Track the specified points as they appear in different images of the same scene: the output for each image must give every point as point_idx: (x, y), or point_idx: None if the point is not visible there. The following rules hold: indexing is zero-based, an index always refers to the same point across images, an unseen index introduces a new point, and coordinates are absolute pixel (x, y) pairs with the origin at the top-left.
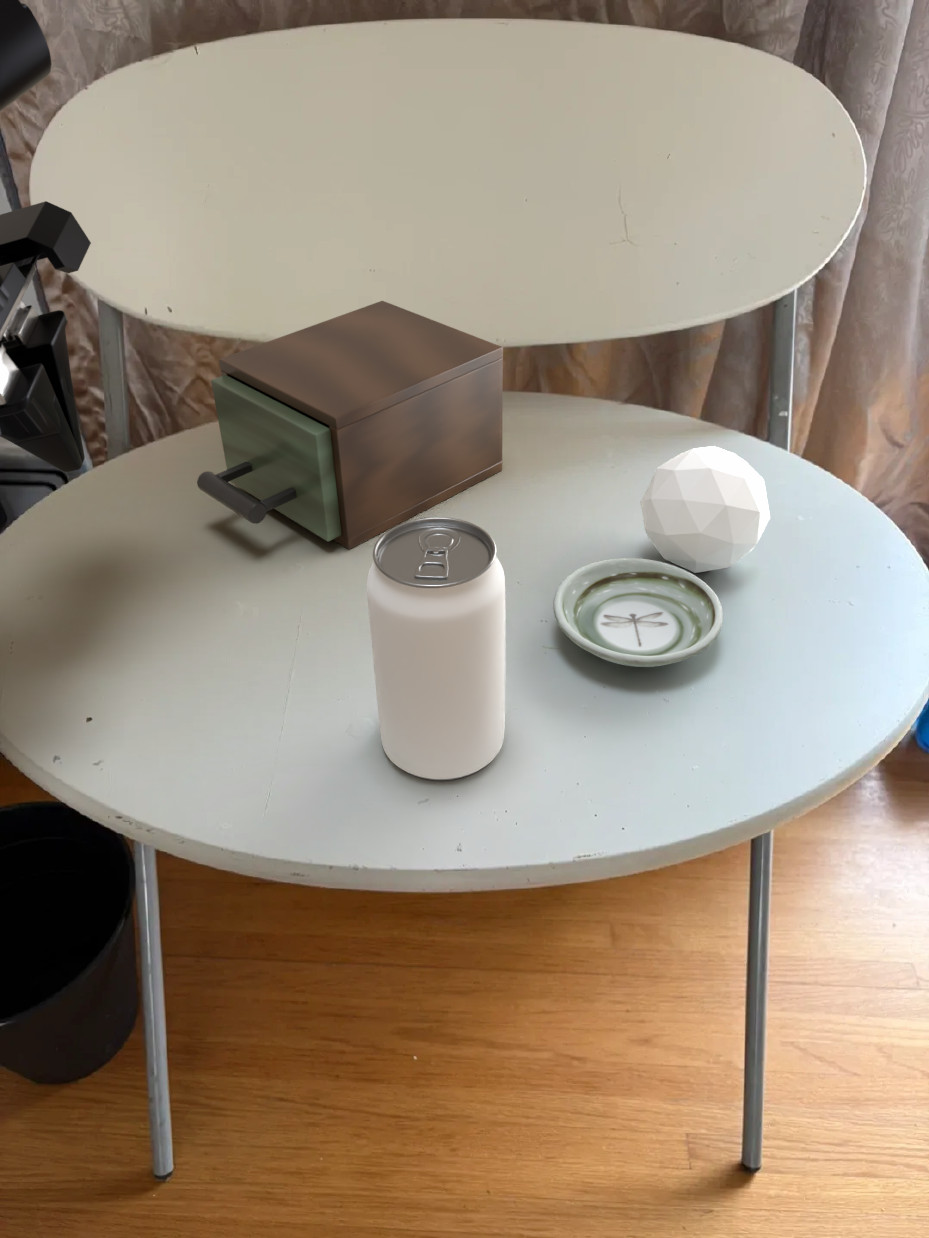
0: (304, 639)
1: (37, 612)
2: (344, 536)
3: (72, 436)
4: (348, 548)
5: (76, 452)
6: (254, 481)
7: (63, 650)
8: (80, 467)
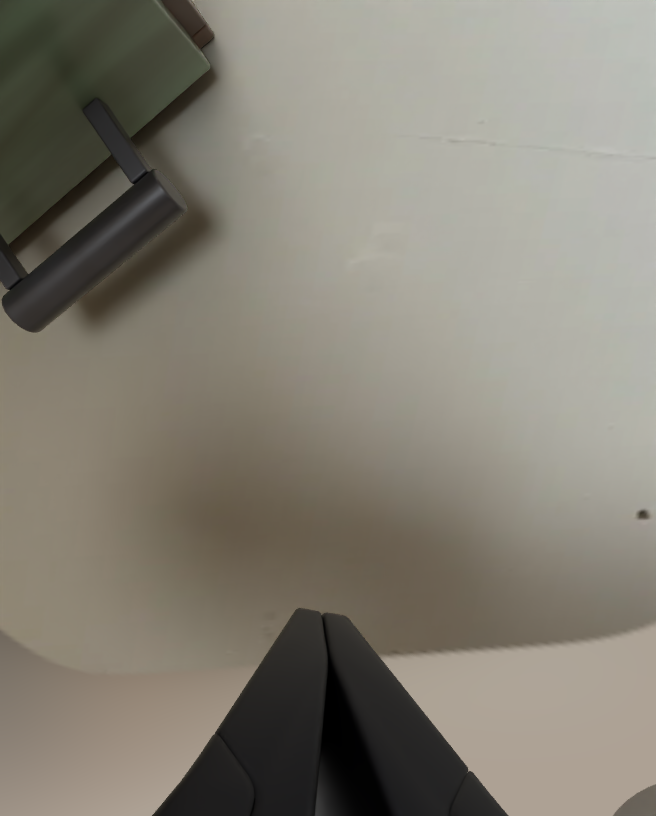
0: (497, 129)
1: None
2: (196, 30)
3: (351, 685)
4: (212, 36)
5: (352, 648)
6: (4, 216)
7: (434, 569)
8: (346, 617)
